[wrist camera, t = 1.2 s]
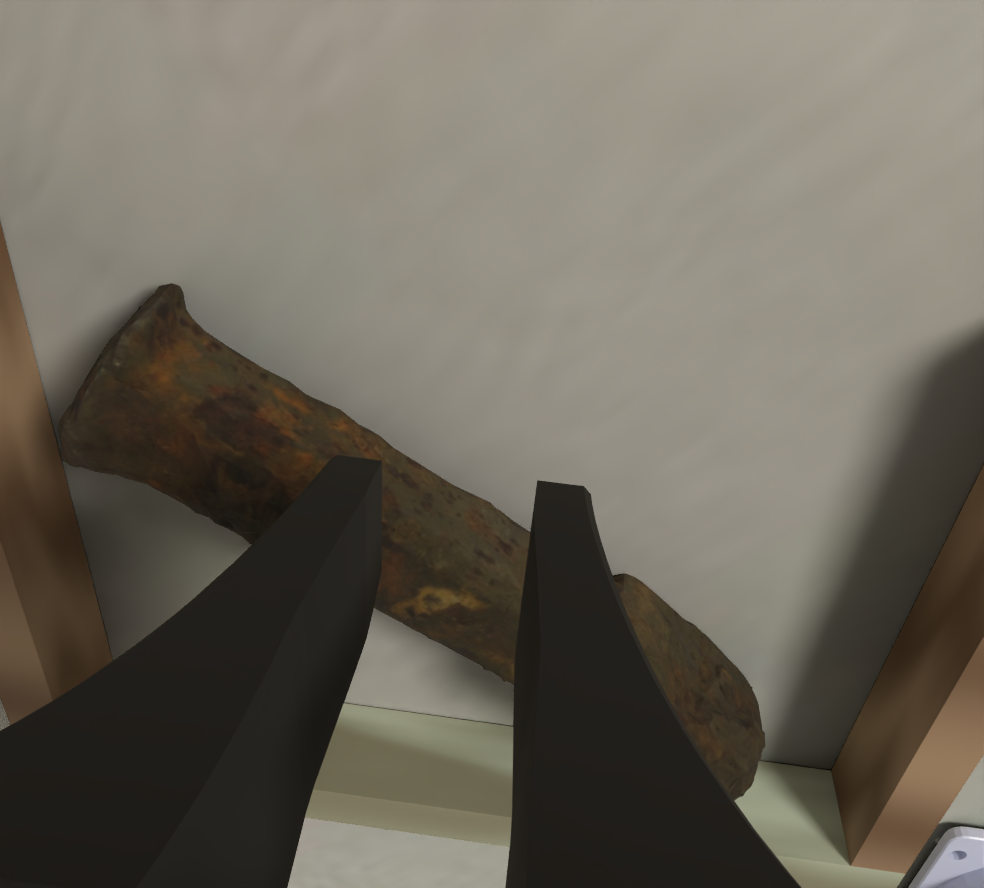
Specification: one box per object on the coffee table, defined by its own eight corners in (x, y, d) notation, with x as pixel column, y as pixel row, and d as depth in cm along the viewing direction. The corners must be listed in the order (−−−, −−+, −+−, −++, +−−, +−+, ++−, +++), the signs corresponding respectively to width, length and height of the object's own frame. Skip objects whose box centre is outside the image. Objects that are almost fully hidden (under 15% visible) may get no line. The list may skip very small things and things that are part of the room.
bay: (865, 805, 29) (887, 901, 27) (77, 695, 30) (30, 778, 28) (1157, 283, 18) (1238, 364, 16) (-91, 138, 19) (-191, 195, 17)
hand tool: (103, 368, 23) (3, 494, 19) (174, 251, 20) (75, 368, 17) (681, 721, 28) (689, 870, 25) (784, 659, 26) (809, 812, 22)
